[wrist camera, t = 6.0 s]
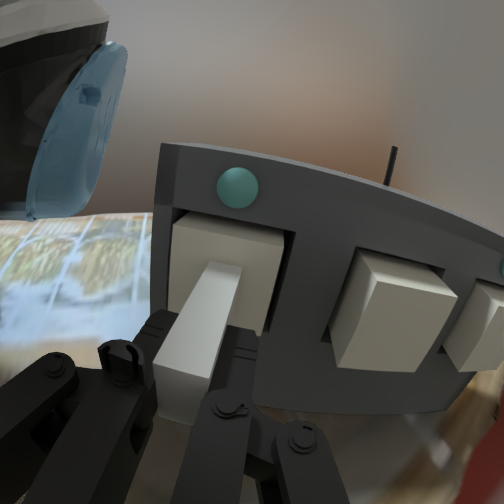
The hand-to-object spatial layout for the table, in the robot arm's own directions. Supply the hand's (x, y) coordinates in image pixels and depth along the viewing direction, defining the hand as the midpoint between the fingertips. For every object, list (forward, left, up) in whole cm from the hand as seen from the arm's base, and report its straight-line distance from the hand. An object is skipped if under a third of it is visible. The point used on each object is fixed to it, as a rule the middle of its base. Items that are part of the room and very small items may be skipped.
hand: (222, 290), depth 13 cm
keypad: (+9, +3, -10) cm, 14 cm away
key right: (+18, -2, -2) cm, 18 cm away
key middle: (+9, -1, -2) cm, 9 cm away
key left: (0, +2, -2) cm, 3 cm away
